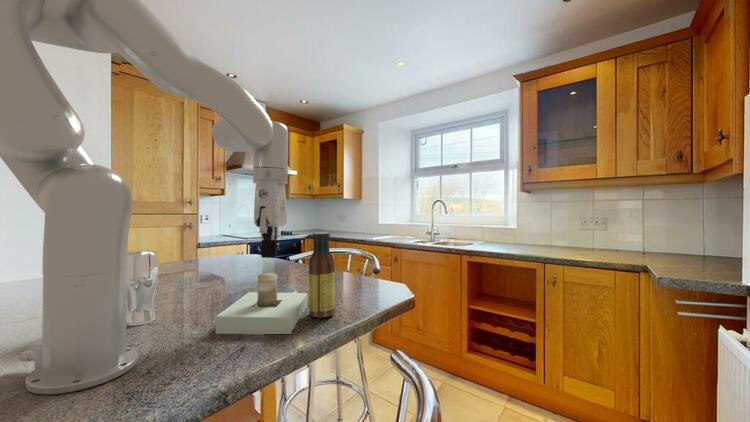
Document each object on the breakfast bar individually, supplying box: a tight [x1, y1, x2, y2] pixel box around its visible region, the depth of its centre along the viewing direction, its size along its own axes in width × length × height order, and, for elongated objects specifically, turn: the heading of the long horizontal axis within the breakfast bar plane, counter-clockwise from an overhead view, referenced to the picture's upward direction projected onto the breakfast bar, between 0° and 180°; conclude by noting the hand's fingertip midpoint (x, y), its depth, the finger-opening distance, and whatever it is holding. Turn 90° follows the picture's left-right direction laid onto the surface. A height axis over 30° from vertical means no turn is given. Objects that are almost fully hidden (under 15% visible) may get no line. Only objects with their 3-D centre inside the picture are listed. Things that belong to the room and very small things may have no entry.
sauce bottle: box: [308, 231, 336, 319], centre depth 76 cm, size 6×6×20 cm
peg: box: [257, 272, 278, 307], centre depth 73 cm, size 4×4×10 cm
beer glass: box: [126, 250, 159, 327], centre depth 69 cm, size 7×7×15 cm
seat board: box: [215, 291, 308, 335], centre depth 73 cm, size 15×18×4 cm
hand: (269, 256), depth 73 cm, fingers closed
